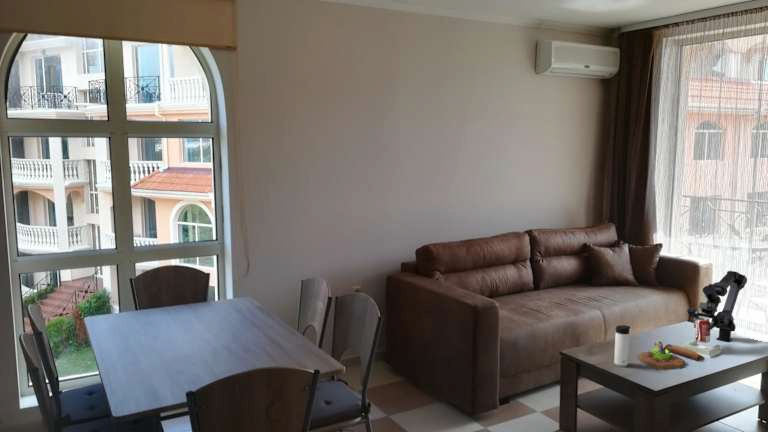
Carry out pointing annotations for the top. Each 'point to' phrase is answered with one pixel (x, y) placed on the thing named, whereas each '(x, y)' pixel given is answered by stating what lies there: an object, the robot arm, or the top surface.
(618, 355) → the travel mug
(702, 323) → the soda can
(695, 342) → the can rack
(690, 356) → the sunglasses case
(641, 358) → the plant
